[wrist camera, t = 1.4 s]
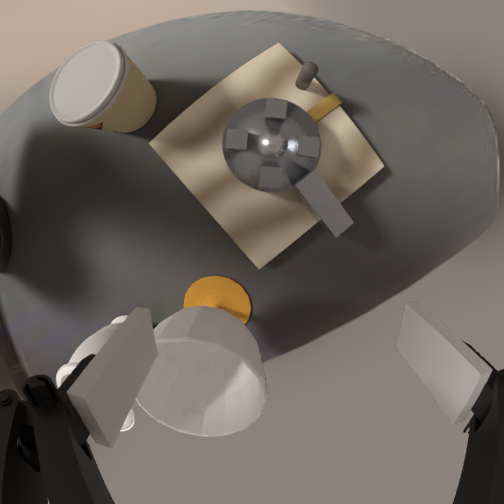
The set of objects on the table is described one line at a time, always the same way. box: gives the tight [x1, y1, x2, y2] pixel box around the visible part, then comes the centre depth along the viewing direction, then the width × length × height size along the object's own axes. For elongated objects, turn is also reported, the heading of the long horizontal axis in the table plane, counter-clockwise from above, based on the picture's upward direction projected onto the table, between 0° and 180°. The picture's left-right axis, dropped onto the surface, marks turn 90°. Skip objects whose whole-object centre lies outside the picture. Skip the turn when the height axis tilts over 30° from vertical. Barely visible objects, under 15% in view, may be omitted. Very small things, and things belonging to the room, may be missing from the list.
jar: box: [56, 315, 139, 431], centre depth 30 cm, size 11×10×15 cm
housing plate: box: [149, 43, 384, 269], centre depth 27 cm, size 20×20×7 cm
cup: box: [136, 275, 268, 437], centre depth 27 cm, size 12×12×17 cm
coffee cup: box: [50, 41, 157, 133], centre depth 23 cm, size 9×9×12 cm
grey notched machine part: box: [222, 98, 354, 238], centre depth 26 cm, size 16×10×5 cm, turn 40°
